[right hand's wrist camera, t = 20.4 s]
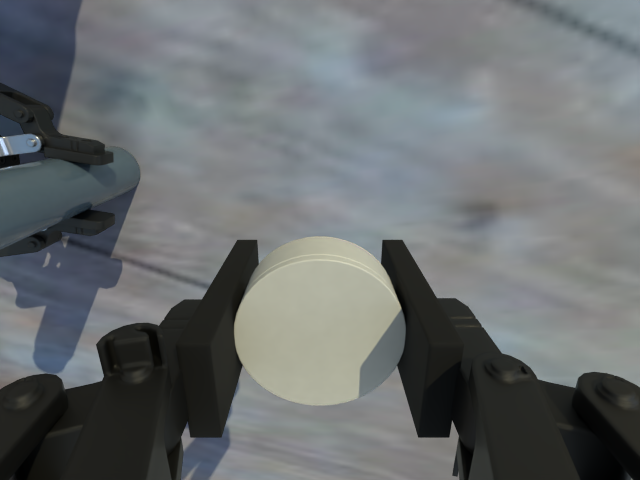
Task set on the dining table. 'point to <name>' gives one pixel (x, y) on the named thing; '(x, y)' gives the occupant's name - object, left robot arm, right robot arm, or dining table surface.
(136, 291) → the dining table surface
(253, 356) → the lid
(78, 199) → the gray cylinder
